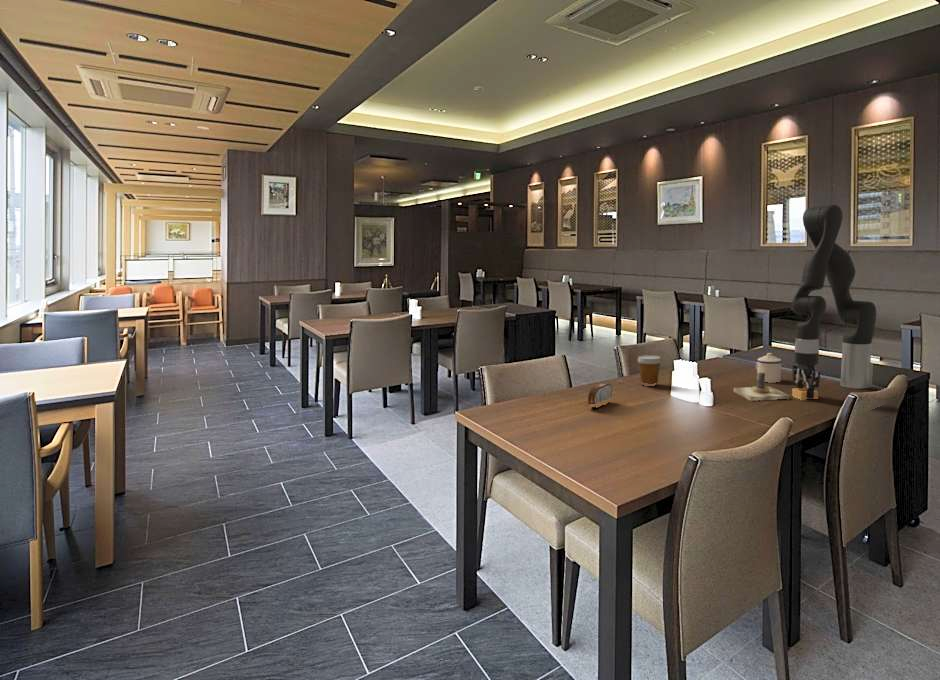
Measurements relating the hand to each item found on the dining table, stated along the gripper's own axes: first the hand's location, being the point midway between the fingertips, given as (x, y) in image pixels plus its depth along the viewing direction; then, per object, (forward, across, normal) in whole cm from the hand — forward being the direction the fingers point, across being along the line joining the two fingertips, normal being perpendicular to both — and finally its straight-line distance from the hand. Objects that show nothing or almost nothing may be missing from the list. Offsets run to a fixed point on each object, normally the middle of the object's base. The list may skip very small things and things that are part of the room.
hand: (804, 395), depth 205 cm
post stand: (+1, +6, +13) cm, 14 cm away
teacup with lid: (+1, +30, -1) cm, 30 cm away
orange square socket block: (+1, 0, 0) cm, 1 cm away
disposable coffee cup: (+1, +29, +48) cm, 56 cm away
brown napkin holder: (+1, 0, +74) cm, 74 cm away
